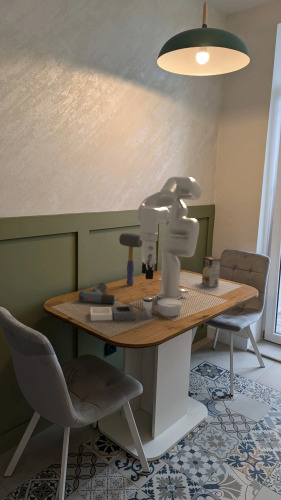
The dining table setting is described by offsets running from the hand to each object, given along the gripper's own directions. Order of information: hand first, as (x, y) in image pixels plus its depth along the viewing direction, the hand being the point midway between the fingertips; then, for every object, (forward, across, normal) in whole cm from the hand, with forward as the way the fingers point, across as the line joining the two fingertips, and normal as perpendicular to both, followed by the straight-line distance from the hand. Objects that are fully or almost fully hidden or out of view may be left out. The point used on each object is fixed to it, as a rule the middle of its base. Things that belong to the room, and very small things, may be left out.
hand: (147, 276), depth 154 cm
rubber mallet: (+18, +48, +1) cm, 52 cm away
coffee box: (+18, +49, -47) cm, 70 cm away
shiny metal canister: (+19, 0, -1) cm, 19 cm away
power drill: (+19, +27, +17) cm, 38 cm away
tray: (+19, +2, +19) cm, 27 cm away
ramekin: (+19, +4, -12) cm, 23 cm away
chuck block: (+19, +1, +10) cm, 21 cm away
